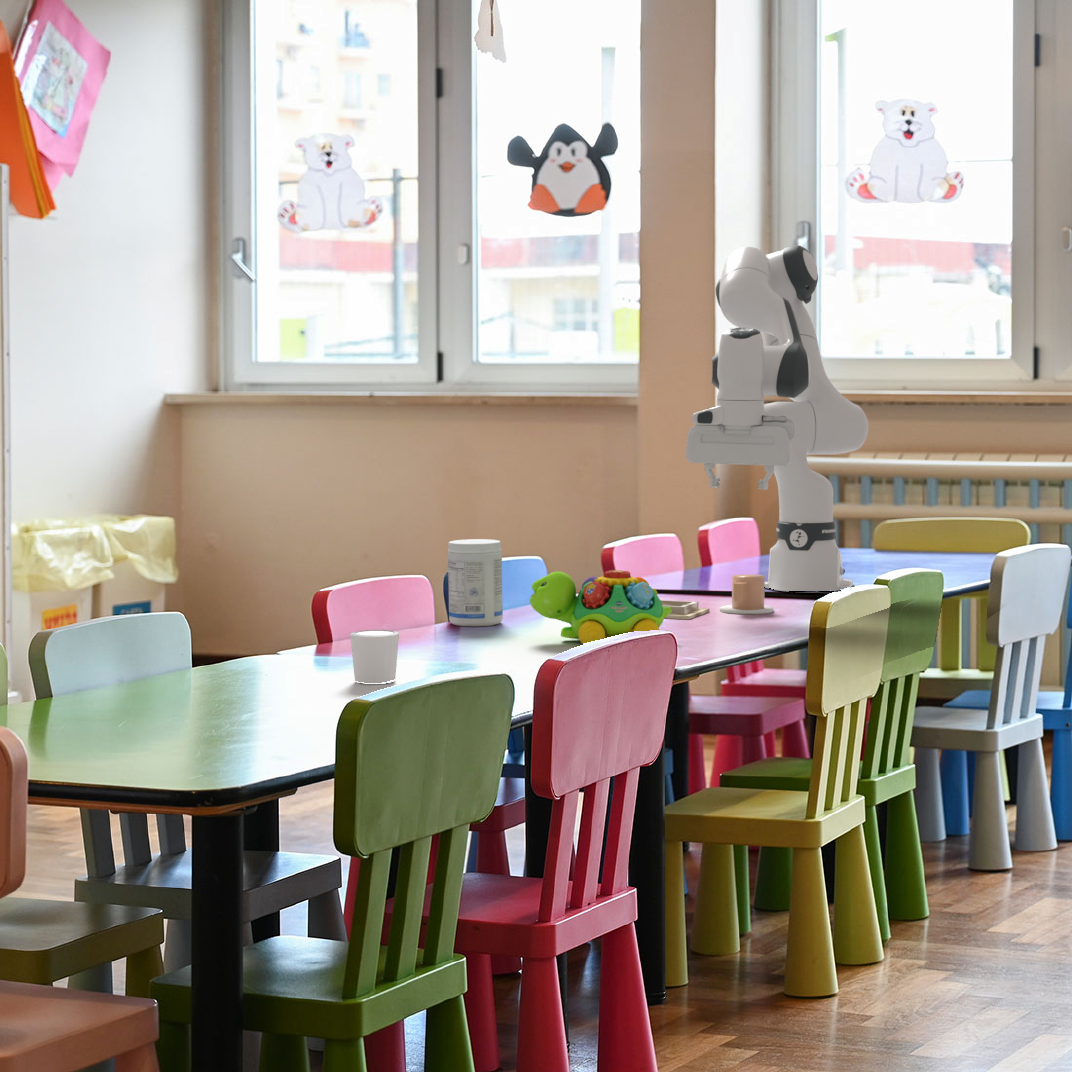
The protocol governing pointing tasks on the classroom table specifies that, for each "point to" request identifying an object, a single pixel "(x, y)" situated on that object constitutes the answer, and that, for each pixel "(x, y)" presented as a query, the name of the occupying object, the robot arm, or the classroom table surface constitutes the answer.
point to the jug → (748, 592)
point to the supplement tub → (475, 582)
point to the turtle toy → (599, 604)
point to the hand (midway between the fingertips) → (738, 488)
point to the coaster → (737, 611)
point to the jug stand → (683, 609)
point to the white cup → (374, 655)
